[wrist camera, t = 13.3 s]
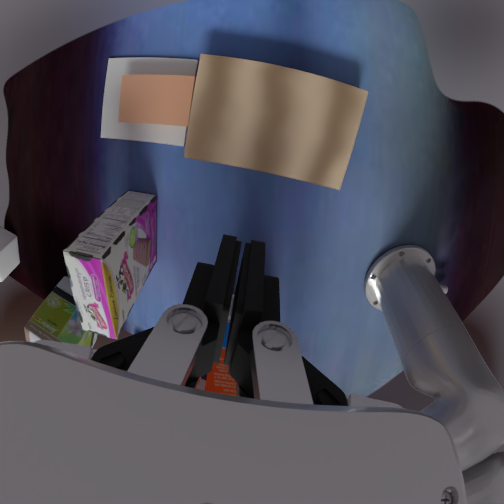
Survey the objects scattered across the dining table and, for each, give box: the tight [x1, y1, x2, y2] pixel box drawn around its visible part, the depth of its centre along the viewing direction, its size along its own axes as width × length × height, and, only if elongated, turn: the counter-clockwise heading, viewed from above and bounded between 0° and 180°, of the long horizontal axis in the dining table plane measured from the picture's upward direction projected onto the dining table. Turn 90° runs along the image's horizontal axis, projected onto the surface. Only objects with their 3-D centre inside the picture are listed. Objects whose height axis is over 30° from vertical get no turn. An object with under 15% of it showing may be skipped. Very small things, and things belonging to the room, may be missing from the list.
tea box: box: [24, 276, 97, 348], centre depth 44 cm, size 15×10×15 cm
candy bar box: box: [63, 191, 157, 339], centre depth 33 cm, size 11×5×16 cm, turn 170°
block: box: [118, 74, 196, 127], centre depth 29 cm, size 9×6×2 cm, turn 80°
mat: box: [101, 57, 198, 146], centre depth 30 cm, size 12×11×1 cm
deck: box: [184, 54, 368, 190], centre depth 30 cm, size 18×12×4 cm, turn 79°
